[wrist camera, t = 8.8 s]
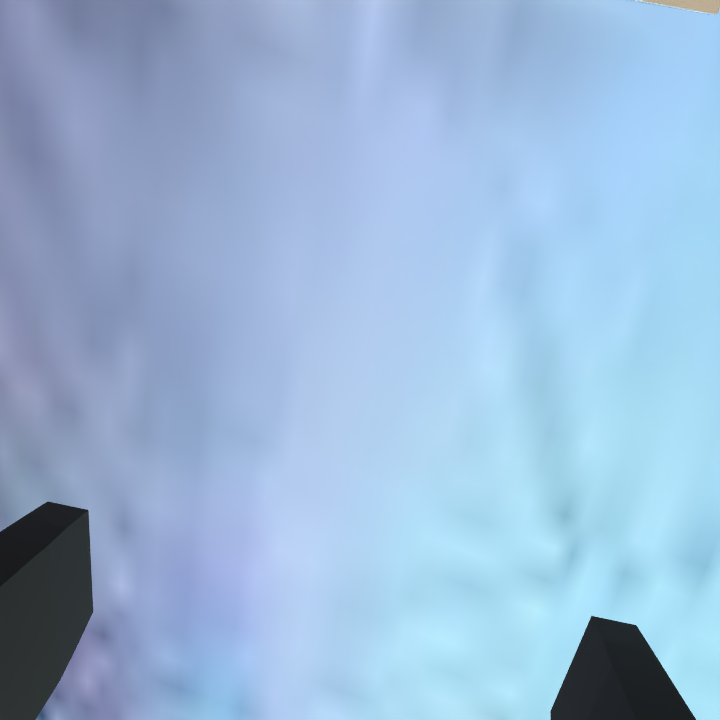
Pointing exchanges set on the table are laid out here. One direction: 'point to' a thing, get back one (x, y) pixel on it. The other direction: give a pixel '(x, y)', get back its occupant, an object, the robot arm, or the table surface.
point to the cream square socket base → (689, 5)
